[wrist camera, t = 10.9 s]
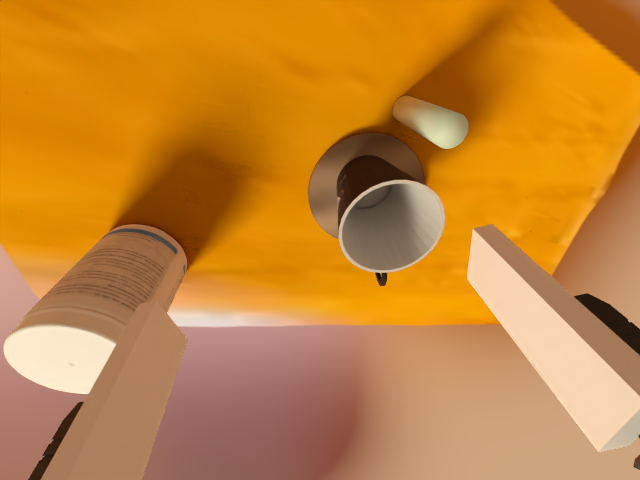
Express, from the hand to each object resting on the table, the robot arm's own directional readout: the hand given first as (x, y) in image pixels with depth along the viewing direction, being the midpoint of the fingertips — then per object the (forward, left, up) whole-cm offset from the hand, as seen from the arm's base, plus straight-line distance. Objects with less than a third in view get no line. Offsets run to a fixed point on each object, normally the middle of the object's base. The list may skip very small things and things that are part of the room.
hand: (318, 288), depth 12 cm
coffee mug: (+7, +4, -20) cm, 22 cm away
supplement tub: (+5, -22, -21) cm, 31 cm away
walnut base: (+7, +5, -21) cm, 23 cm away
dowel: (0, +11, -21) cm, 24 cm away
